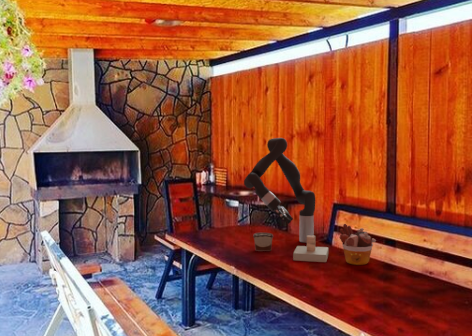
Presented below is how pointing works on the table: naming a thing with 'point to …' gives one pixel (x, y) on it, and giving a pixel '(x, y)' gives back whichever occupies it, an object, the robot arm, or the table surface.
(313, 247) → the birch block
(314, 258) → the base board
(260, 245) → the food container
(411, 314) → the table surface
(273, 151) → the robot arm
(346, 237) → the bucket of meat
